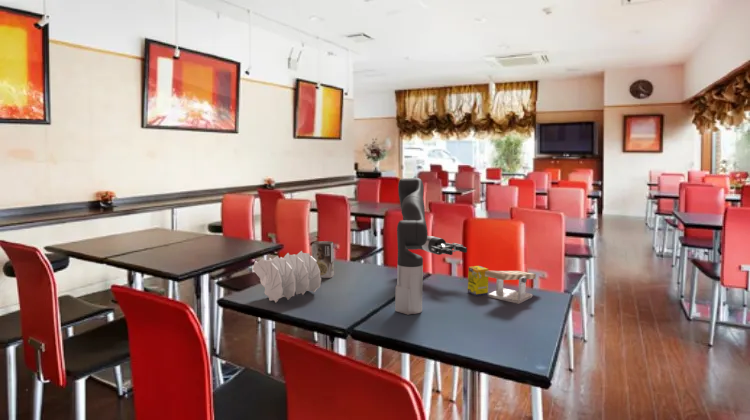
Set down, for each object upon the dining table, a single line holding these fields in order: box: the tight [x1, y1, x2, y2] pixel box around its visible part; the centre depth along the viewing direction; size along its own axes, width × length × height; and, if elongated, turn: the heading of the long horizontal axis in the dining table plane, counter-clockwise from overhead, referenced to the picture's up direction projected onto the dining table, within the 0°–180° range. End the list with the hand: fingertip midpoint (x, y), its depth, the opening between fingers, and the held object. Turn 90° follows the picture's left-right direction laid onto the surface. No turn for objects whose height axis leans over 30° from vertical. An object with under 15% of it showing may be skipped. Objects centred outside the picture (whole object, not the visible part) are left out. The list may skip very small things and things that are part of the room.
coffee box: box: [311, 240, 335, 279], centre depth 218 cm, size 9×6×16 cm
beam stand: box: [487, 276, 533, 305], centre depth 187 cm, size 12×13×9 cm
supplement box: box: [467, 265, 490, 297], centre depth 192 cm, size 6×6×11 cm
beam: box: [485, 270, 537, 281], centre depth 187 cm, size 28×8×2 cm, turn 137°
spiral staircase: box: [252, 250, 322, 303], centre depth 186 cm, size 18×18×25 cm
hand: (459, 251), depth 200 cm, fingers open, 8 cm apart
